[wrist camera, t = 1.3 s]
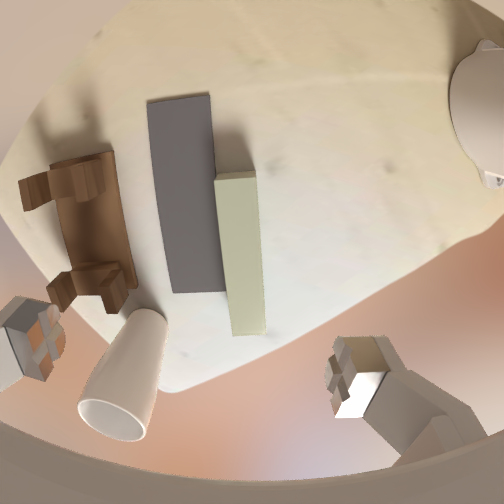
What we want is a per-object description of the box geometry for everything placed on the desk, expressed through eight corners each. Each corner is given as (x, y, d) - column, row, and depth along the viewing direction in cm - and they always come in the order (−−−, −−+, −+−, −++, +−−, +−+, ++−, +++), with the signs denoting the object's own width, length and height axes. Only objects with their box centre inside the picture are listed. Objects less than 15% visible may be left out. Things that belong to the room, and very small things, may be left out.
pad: (209, 95, 25) (209, 95, 25) (227, 289, 33) (226, 291, 33) (147, 104, 25) (146, 104, 25) (173, 291, 33) (173, 293, 33)
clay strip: (218, 173, 29) (213, 180, 25) (255, 170, 29) (256, 177, 25) (234, 314, 35) (232, 336, 31) (264, 312, 35) (266, 334, 31)
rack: (113, 150, 27) (82, 159, 21) (138, 285, 33) (118, 318, 27) (53, 163, 27) (17, 175, 21) (81, 286, 33) (56, 316, 27)
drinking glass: (175, 349, 37) (150, 448, 23) (125, 339, 36) (85, 431, 23) (176, 306, 34) (142, 409, 20) (121, 296, 34) (67, 388, 20)
